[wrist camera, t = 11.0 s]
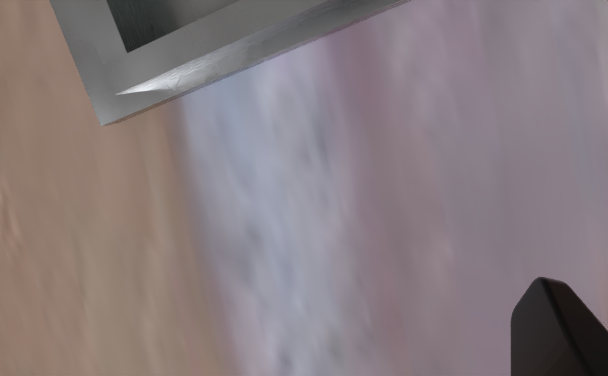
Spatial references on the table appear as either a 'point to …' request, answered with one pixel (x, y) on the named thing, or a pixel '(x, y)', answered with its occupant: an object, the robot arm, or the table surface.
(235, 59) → the grey rectangular tray
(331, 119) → the table surface
